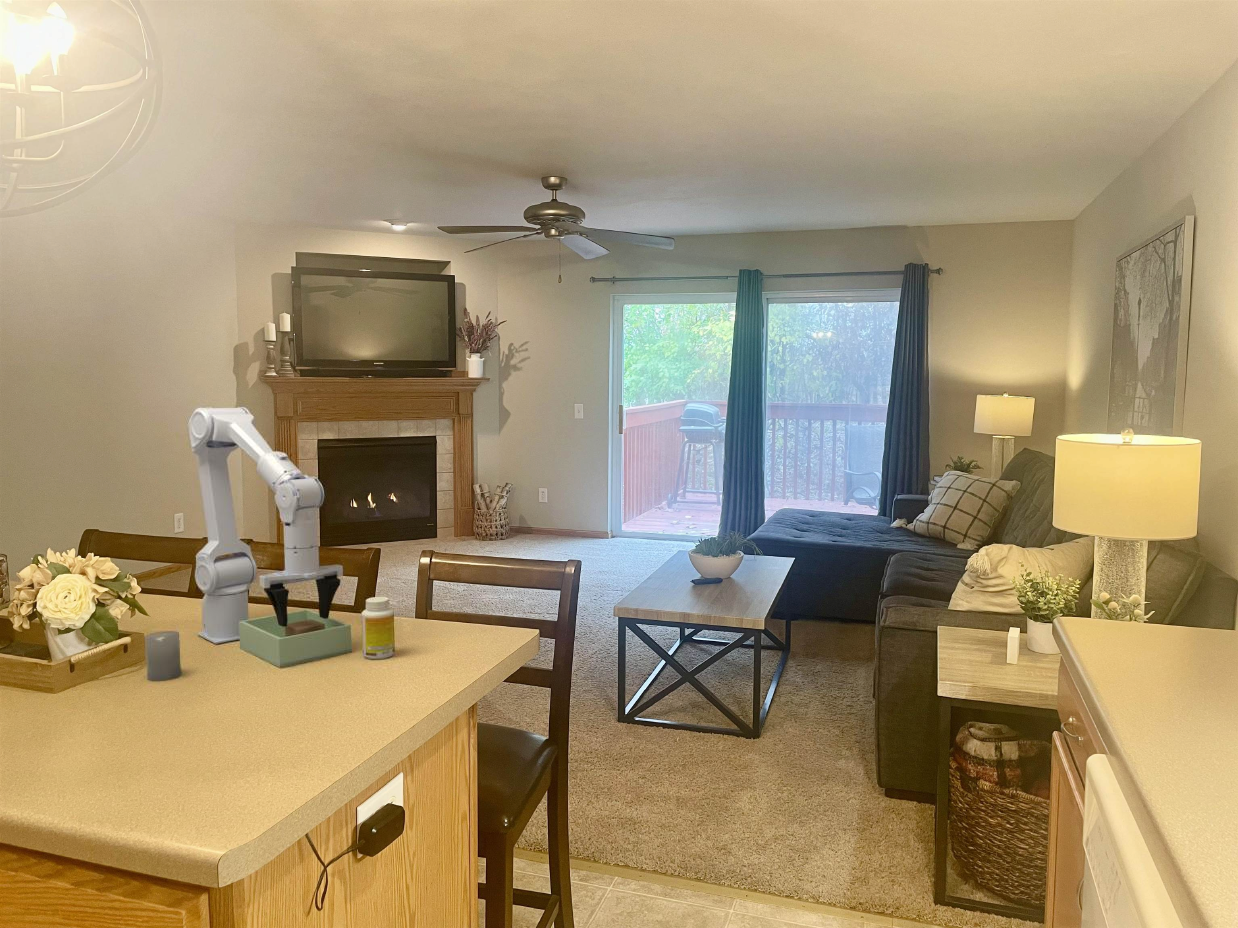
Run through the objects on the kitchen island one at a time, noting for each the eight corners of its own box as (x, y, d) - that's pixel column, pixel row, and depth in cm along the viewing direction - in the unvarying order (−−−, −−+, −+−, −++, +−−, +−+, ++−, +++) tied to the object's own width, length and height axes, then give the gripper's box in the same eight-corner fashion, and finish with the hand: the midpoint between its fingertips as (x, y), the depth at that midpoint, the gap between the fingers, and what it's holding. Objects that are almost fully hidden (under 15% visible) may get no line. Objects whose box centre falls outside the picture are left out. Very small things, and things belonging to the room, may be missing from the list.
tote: (240, 648, 164) (238, 621, 164) (308, 634, 173) (307, 608, 173) (280, 668, 152) (278, 639, 151) (351, 652, 161) (350, 624, 160)
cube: (299, 657, 156) (298, 629, 155) (285, 651, 159) (284, 624, 159) (325, 651, 159) (324, 623, 159) (312, 646, 163) (311, 619, 162)
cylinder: (143, 676, 148) (140, 634, 147) (175, 669, 151) (173, 629, 151) (152, 683, 144) (150, 640, 144) (185, 676, 148) (183, 634, 147)
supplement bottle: (400, 656, 158) (398, 599, 158) (370, 662, 155) (368, 604, 154) (386, 649, 163) (385, 594, 162) (357, 655, 159) (355, 598, 158)
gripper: (270, 554, 150) (273, 633, 151) (350, 543, 160) (352, 618, 161) (253, 549, 155) (256, 625, 156) (331, 539, 165) (333, 611, 166)
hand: (303, 621), depth 159 cm, fingers open, 7 cm apart
